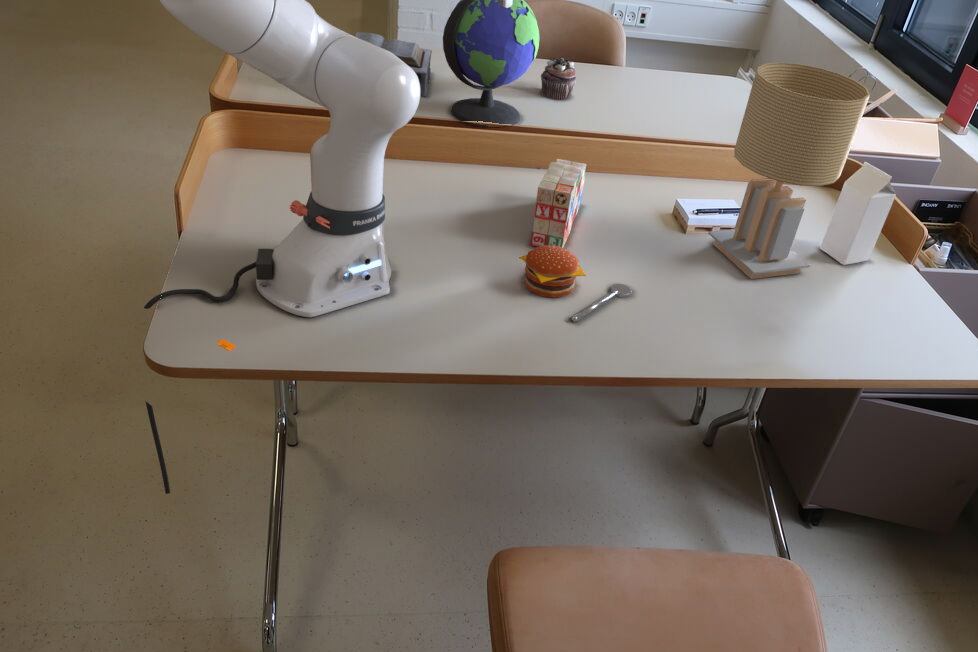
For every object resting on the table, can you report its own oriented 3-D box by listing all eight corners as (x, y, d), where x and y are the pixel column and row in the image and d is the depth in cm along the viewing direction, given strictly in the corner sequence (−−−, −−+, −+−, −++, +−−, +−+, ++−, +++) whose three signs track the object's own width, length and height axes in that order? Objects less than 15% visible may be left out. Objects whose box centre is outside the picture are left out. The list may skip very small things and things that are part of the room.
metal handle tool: (581, 327, 136) (582, 322, 135) (563, 317, 137) (564, 312, 137) (634, 292, 147) (635, 287, 146) (618, 284, 148) (619, 279, 148)
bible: (348, 58, 228) (347, 21, 222) (443, 75, 227) (445, 38, 221) (317, 84, 209) (316, 44, 203) (421, 102, 208) (423, 63, 202)
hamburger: (557, 266, 151) (563, 234, 147) (584, 294, 144) (590, 261, 140) (512, 274, 146) (516, 241, 142) (537, 303, 140) (542, 269, 136)
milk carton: (843, 266, 165) (878, 178, 154) (819, 248, 170) (851, 162, 159) (868, 261, 168) (904, 175, 157) (844, 244, 173) (877, 159, 162)
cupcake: (579, 96, 228) (585, 59, 222) (561, 104, 221) (567, 66, 215) (550, 86, 231) (555, 49, 225) (532, 93, 224) (536, 56, 218)
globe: (511, 139, 197) (526, 7, 179) (426, 117, 201) (432, -14, 183) (541, 111, 214) (557, -12, 196) (462, 92, 218) (471, -30, 200)
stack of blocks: (551, 199, 173) (559, 143, 165) (580, 205, 172) (590, 150, 165) (529, 245, 156) (537, 185, 148) (561, 252, 155) (571, 192, 148)
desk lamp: (688, 238, 166) (734, 62, 145) (766, 231, 174) (821, 62, 153) (742, 289, 152) (802, 103, 132) (825, 279, 160) (894, 100, 139)
